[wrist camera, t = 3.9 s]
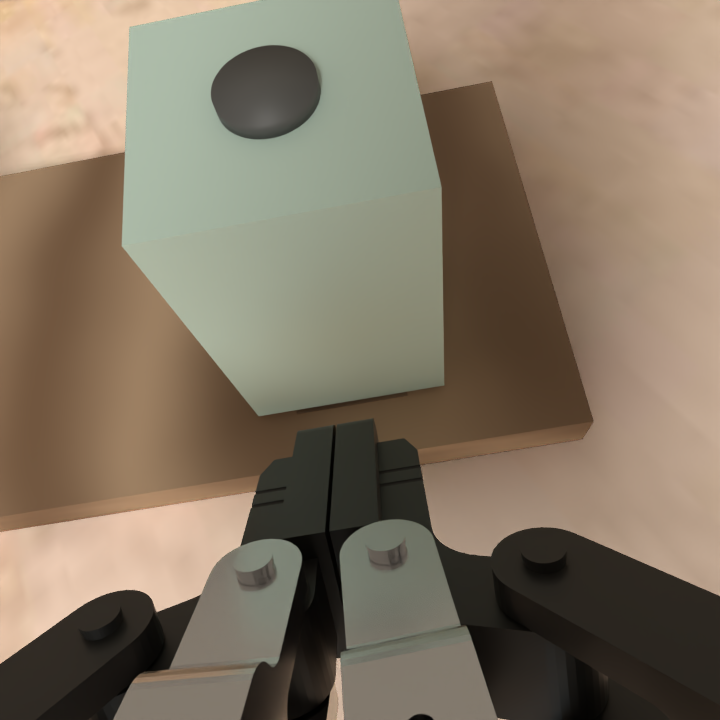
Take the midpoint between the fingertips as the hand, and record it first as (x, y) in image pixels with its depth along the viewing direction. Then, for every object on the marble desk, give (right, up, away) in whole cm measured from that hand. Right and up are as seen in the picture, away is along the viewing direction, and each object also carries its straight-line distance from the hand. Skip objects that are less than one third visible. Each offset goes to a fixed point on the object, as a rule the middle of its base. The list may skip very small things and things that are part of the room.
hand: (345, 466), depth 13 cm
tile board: (-8, +3, +8) cm, 12 cm away
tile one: (0, +3, +5) cm, 6 cm away
